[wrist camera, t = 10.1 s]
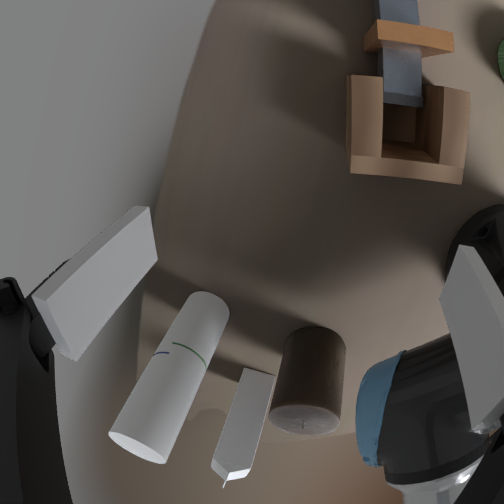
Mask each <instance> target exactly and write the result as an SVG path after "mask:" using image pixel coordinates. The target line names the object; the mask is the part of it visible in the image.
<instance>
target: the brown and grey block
mask: <svg viewBox="0 0 504 504" xmlns="http://www.w3.org/2000/svg"><path fill="white" fill-rule="evenodd" d="M373 4H374V14H375V22H374V24H373V25H372V26H371V28H370V29H369V30H368V31H367V33H366V34H365V35H364V37H363V43H364V51H366V52H377V67H378V77H383V103H390V104H399V105H406V106H414V107H421V108H423V97H421V96H422V68H421V58H424V57H429V56H434V55H439V54H445V53H451V52H454V40H453V33H452V32H448V31H443V30H439V29H434V28H429V27H424V26H419V15H418V5H417V0H373Z"/></svg>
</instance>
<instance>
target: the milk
mask: <svg viewBox="0 0 504 504" xmlns="http://www.w3.org/2000/svg"><path fill="white" fill-rule="evenodd" d="M274 380H275V376H274V375H270V374H266V373H263V372H259V371H256V370H252V369H248V368H245V367H244V369H243V372H242V375H241V378H240V381H239V384H238V387H237V390H236V393H235V396H234V398H233V401H232V404H231V407H230V410H229V413H228V416H227V419H226V422H225V424H224V427H223V430H222V433H221V436H220V439H219V441H218V444H217V447H216V450H215V452H214V455H213V459H212V464H211V468H212V469H213V470H214V471H215V472H216V473H217V474H219V475H220V476H221V477H222V478H223V479H224V480H225V483H226V481H227V480H233V479H238V478H243V477H246V475H247V474H248V472H249V471H250V469H251V467H252V463H253V459H254V456H255V452H256V449H257V446H258V442H259V438H260V435H261V431H262V427H263V424H264V420H265V416H266V412H267V408H268V404H269V400H270V397H271V393H272V389H273V385H274ZM225 483H224V485H225ZM224 485H223V488H224Z"/></svg>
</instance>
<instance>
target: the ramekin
mask: <svg viewBox="0 0 504 504" xmlns="http://www.w3.org/2000/svg"><path fill="white" fill-rule="evenodd" d="M498 64H499V69H500V72H501V75H502V77H503V80H504V39H503V41H502V42H501V44H500V46H499V49H498Z"/></svg>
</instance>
